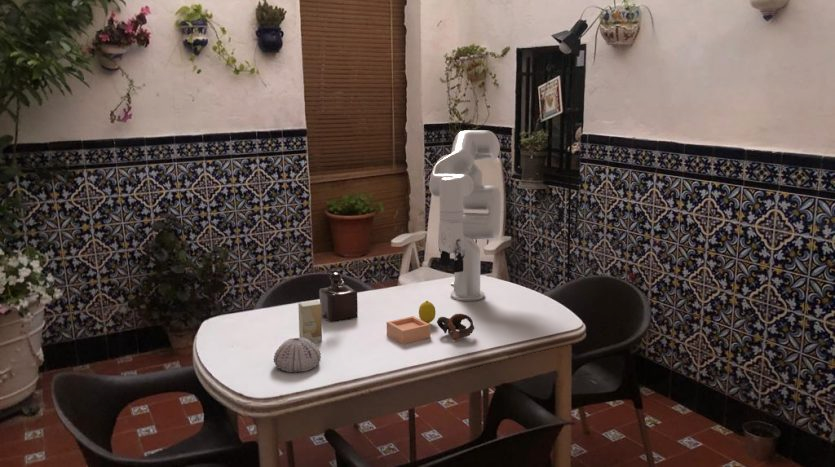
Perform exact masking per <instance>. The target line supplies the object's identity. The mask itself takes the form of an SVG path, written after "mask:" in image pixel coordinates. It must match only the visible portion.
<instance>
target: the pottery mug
mask: <svg viewBox="0 0 835 467" xmlns="http://www.w3.org/2000/svg"><path fill="white" fill-rule="evenodd" d="M464 320H467V321H468V322H469V326H468V327H467V326H466V325H465V324H462V321H464ZM436 323H437V326H438V328H440V329H441V330H442V331H443V332H444V334H447V333H450V334H451V333H452V334H453V336H452V337H451V338H452V339H451V340H452V341H454V342H458V341H459V340H461V339H464V338H467V337H469V336H471V334H472V333H473V331H475V326H474V322H473V319H472V317H470V316H469V315H468V314H465V313H455V314H453V315H452V316H451V317H446V316H440V317H438V319H437V321H436Z"/></svg>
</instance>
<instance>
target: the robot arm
mask: <svg viewBox="0 0 835 467" xmlns="http://www.w3.org/2000/svg"><path fill="white" fill-rule="evenodd" d="M500 151H501V146H500V141H499V139H498V137H497V135H496V134H495V133H494V132H493V131H490V130H486V129H485V130H482V129H479V130H478V129H477V130H476V129H475V130H461V131H460V132H458V133H457V134H456V135H455V137H454V140H453V142H452V148H451V152H450V154H448V155H447V156H445V157H443V158H442V159H440V160H439V161H438V162H437V163H436V164H435V165H434V166H433V168H432V171H431V175H430V178H429V184H428V187H429V192H430V194H431V195H432V196H433V197H438V198H439V224H438V234H437V235H438V236H437V238H438V240H437V246H438V247H437V248H439V249H440V250H439V253H440V266H441V267H442V266H449V265H451V254H452V256H453V258H454V259H453V273H454V282H451V283H450V286H451V287H452V288H453V290H452V291H451V292H450V297H451V299H454V300H456V301H461V302H462V301H463V302H473V301H478V300H481V299H483V298H485V292H484V291H482V290H481V249H480V247H479V245H478V244H477V242H476V241H475V240H496V239H497V238H498V237H499V235H500V229H501V212H502V211H501V210H502V193H501V190H500V188H499V187H498V186H496V185H491V184H490V185H487V184H486V185H485V184H483V172H482V170H481V169H480V168H479V166H478V165H477V164H476V163H475V161H494V160H496V159H498V157H499V155H500ZM464 211H472V212H464ZM473 211H475V212H473ZM484 212H486V213H484Z"/></svg>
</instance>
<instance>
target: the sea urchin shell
mask: <svg viewBox="0 0 835 467" xmlns="http://www.w3.org/2000/svg"><path fill="white" fill-rule="evenodd" d="M321 354H322V353H321V350H320V349H319V348H318V346H317V345H316V343H314V342H311V341H310V340H308V339H306V338H304V337H301V338H299V337H293V338H289V339H287V340H285V341H283V343H281V344H280V346H279V347H278V348H277V349H276V351H275V352H274V356H273V363H274V365H275V366H276V368H278V369H280V370H282V371H285V372H287V373H300V372H307V371H309V370H313V368H316V366H318V365H319V364H320V362H321V361H322V360H321V359H322V355H321Z"/></svg>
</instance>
